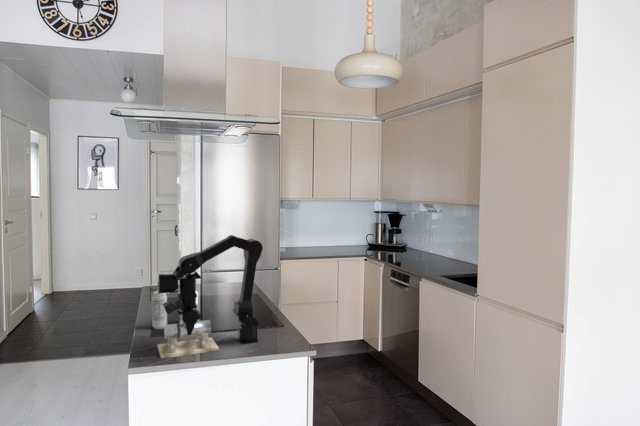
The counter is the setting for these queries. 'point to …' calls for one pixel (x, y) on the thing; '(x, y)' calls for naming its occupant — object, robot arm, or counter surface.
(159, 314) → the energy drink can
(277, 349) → the counter surface
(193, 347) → the collar stand
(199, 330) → the metal tube
